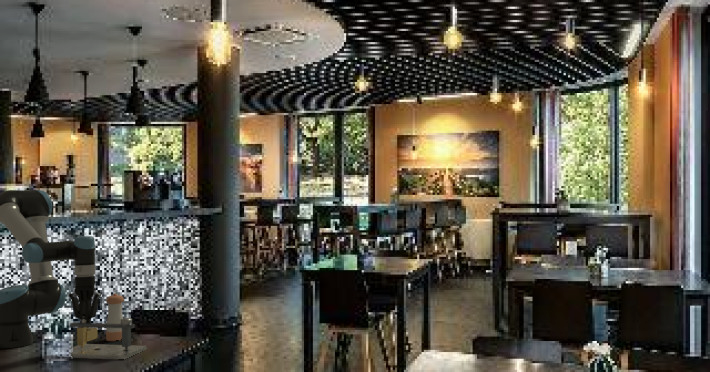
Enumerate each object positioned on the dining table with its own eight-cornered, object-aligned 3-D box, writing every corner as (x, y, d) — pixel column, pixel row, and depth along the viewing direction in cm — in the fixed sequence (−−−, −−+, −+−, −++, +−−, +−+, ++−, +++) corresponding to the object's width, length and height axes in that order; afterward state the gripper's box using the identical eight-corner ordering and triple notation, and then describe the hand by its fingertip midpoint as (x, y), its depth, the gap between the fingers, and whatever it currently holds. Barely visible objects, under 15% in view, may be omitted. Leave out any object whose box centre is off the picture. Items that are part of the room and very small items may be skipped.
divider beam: (68, 348, 256) (68, 318, 257) (74, 345, 260) (74, 316, 261) (131, 350, 251) (130, 320, 252) (136, 348, 255) (136, 318, 255)
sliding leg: (76, 348, 257) (76, 327, 257) (90, 342, 266) (90, 323, 266) (83, 348, 256) (83, 328, 256) (97, 342, 265) (97, 323, 265)
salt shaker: (120, 336, 286) (120, 291, 287) (127, 339, 281) (126, 293, 281) (103, 339, 282) (103, 293, 282) (109, 342, 276) (109, 295, 276)
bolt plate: (56, 357, 251) (56, 352, 251) (81, 347, 266) (81, 343, 266) (124, 359, 245) (124, 355, 245) (146, 349, 261) (146, 345, 261)
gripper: (64, 276, 262) (64, 337, 261) (94, 276, 259) (95, 338, 259) (75, 274, 269) (76, 333, 269) (105, 274, 267) (106, 334, 266)
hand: (85, 335), depth 264 cm, fingers closed
